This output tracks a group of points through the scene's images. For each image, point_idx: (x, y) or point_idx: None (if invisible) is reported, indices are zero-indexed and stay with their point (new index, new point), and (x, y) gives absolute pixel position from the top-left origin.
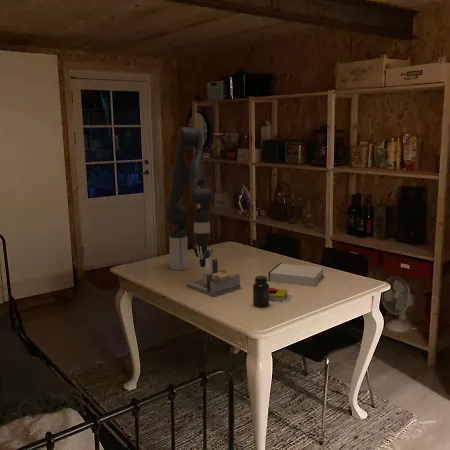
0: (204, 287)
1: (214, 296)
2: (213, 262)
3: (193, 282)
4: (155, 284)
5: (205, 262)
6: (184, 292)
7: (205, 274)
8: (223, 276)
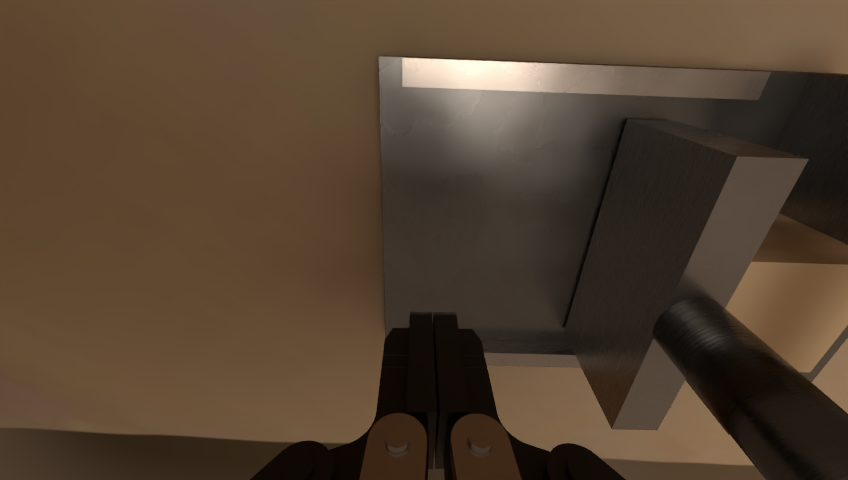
0: None
1: None
2: None
3: (402, 306)
4: (216, 412)
5: (486, 372)
6: None
7: (624, 417)
8: (834, 323)
